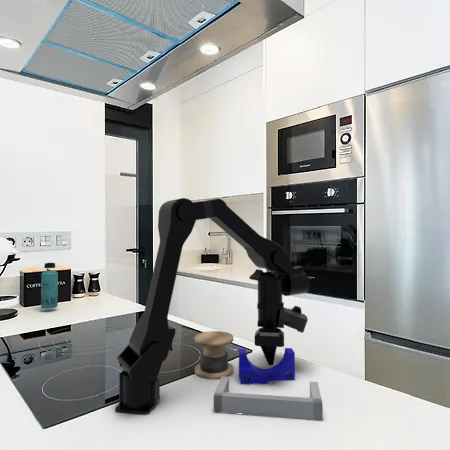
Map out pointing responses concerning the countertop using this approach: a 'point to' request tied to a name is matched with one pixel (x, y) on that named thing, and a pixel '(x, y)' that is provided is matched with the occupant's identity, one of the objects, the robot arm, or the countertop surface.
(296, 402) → the gray u-shaped bracket
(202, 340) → the bobbin
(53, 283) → the beverage bottle
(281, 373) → the cable clip
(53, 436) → the countertop surface
